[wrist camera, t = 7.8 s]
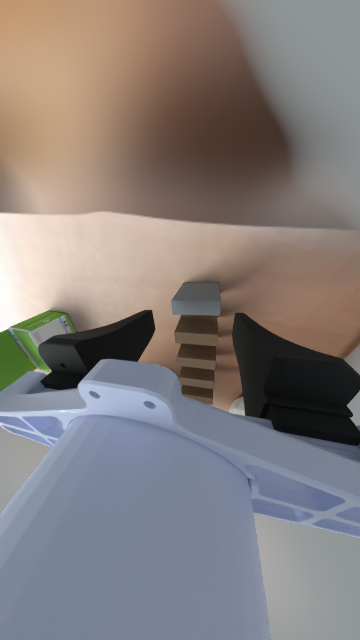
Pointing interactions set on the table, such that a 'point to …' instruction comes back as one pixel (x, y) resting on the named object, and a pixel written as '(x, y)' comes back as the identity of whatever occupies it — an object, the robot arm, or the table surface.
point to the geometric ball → (237, 407)
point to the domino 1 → (197, 299)
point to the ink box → (29, 344)
